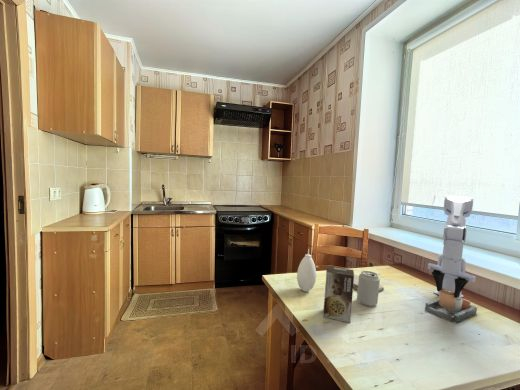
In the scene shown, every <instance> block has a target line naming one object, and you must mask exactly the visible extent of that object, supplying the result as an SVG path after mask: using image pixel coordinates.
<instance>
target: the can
mask: <svg viewBox="0 0 520 390" xmlns="http://www.w3.org/2000/svg"><path fill="white" fill-rule="evenodd" d="M358 276H359V282H358V290H357V291H356V292H357V293H356V300H357V301H358V303H359V304H360V305H362V306H365V307H371V308H372V307H375V306H376V305H378V301H379V293H380V292H379V285H380V282H381V281H380V280H381V278H379V274H378V273H377V272H374V271H371V270H361V271H360V273H359V275H358Z"/></svg>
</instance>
